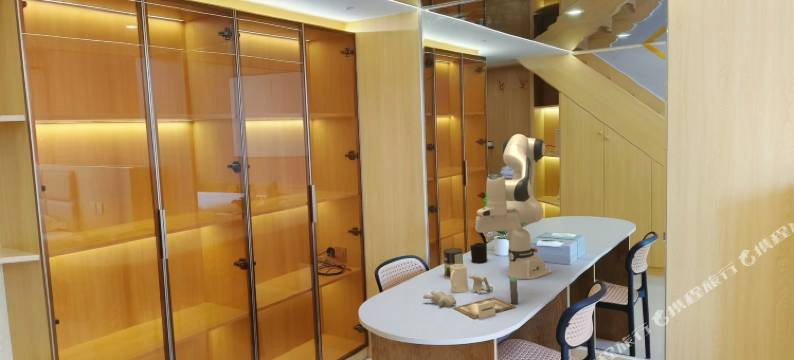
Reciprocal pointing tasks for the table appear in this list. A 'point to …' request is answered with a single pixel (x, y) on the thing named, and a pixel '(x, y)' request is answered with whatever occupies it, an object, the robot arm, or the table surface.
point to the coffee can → (452, 259)
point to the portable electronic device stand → (480, 283)
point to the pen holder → (479, 253)
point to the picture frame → (472, 308)
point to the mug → (458, 278)
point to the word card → (486, 309)
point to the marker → (513, 290)
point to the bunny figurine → (441, 299)
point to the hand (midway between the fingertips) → (498, 240)
